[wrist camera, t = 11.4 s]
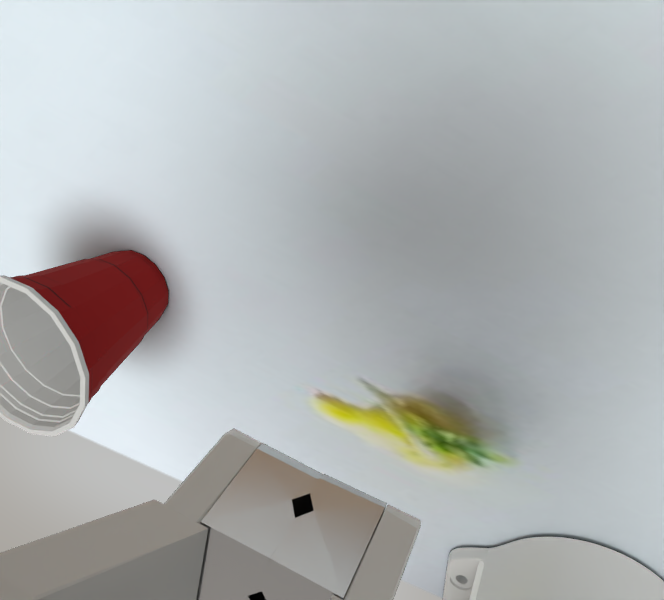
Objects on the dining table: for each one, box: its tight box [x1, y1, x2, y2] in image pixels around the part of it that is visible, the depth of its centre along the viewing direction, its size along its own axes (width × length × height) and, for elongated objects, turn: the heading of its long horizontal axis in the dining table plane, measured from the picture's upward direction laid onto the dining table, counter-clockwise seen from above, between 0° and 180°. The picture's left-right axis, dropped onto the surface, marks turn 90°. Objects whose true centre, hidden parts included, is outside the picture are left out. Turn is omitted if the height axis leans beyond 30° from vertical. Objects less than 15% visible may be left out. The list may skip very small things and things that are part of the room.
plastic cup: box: [0, 250, 168, 436], centre depth 43 cm, size 11×11×12 cm
